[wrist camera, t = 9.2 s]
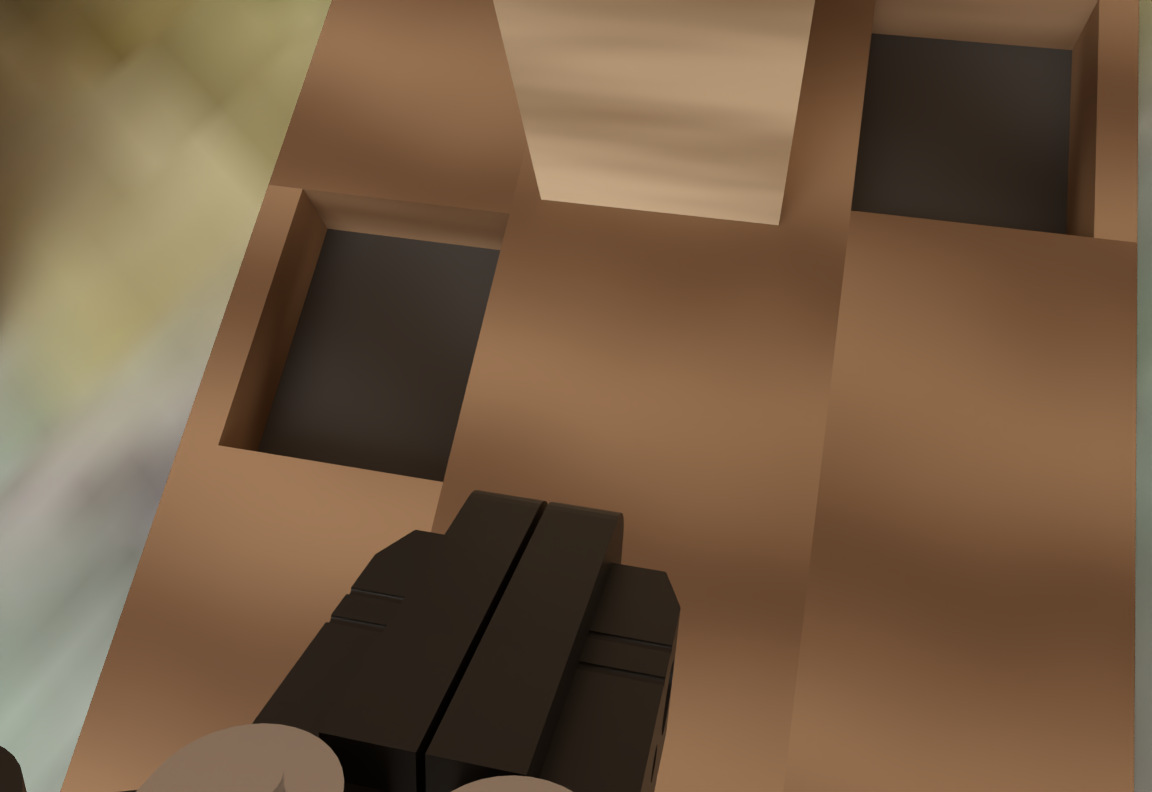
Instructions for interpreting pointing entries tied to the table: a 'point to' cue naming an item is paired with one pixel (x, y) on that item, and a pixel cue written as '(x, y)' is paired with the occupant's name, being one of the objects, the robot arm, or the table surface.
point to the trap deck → (697, 401)
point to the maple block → (660, 100)
